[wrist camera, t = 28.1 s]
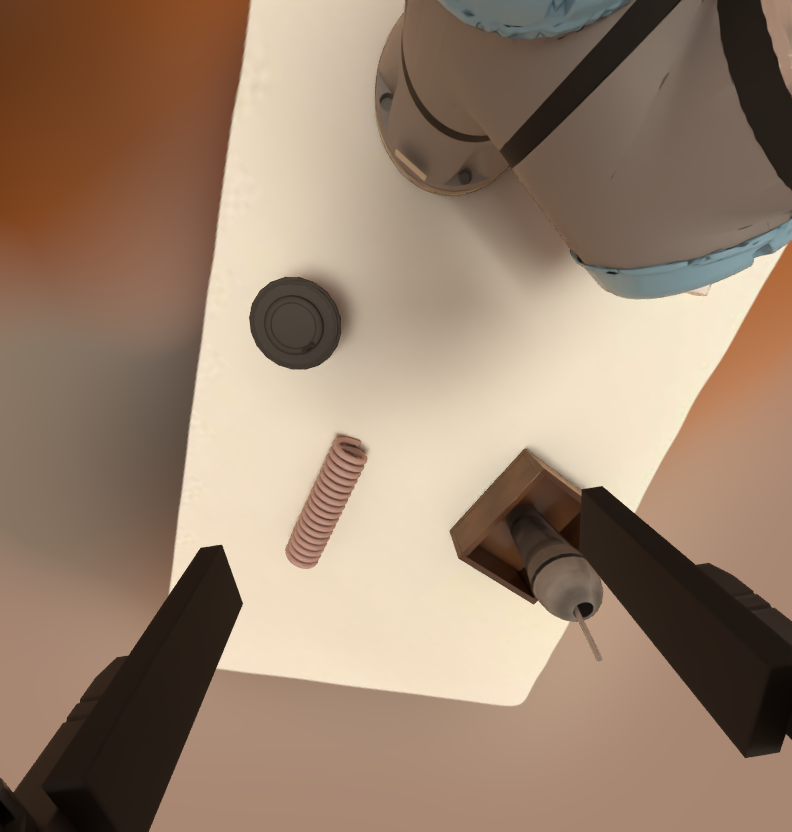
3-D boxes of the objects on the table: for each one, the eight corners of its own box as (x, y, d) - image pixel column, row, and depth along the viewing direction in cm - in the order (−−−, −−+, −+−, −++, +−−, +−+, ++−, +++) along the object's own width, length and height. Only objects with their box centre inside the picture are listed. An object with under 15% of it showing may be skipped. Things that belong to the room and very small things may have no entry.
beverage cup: (556, 524, 51) (663, 660, 32) (510, 548, 52) (588, 694, 33) (535, 486, 49) (638, 608, 30) (488, 512, 50) (558, 646, 31)
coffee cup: (329, 366, 43) (317, 387, 33) (263, 334, 41) (231, 346, 32) (359, 302, 41) (356, 305, 31) (291, 265, 39) (265, 257, 30)
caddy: (524, 448, 48) (543, 467, 43) (593, 500, 51) (618, 524, 46) (449, 531, 51) (458, 558, 46) (518, 574, 55) (533, 604, 49)
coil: (315, 576, 47) (373, 460, 42) (280, 567, 46) (335, 447, 41) (317, 550, 51) (369, 442, 46) (284, 542, 50) (335, 430, 45)
